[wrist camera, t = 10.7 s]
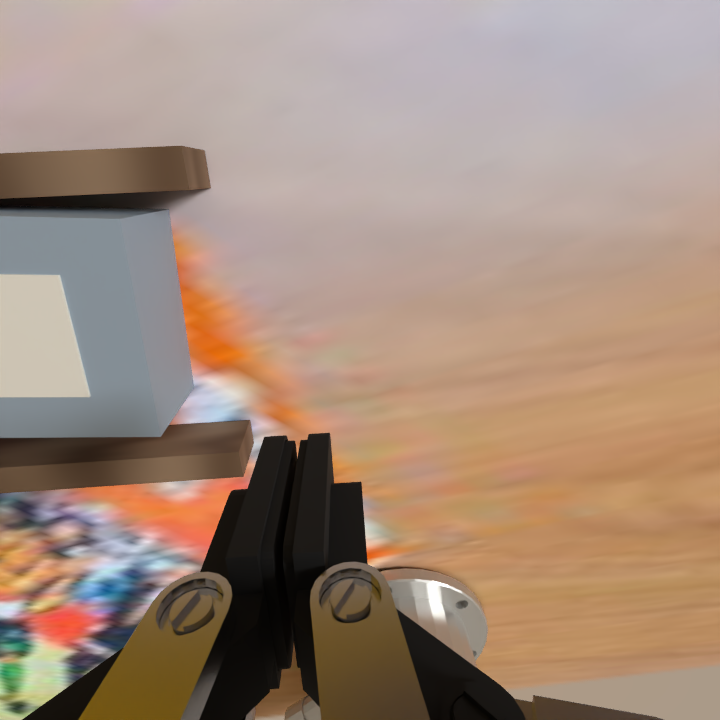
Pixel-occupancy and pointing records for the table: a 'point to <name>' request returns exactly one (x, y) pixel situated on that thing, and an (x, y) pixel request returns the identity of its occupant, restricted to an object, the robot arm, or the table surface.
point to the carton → (90, 323)
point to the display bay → (116, 454)
